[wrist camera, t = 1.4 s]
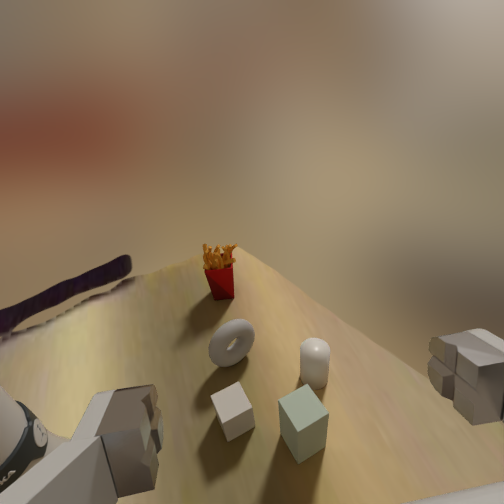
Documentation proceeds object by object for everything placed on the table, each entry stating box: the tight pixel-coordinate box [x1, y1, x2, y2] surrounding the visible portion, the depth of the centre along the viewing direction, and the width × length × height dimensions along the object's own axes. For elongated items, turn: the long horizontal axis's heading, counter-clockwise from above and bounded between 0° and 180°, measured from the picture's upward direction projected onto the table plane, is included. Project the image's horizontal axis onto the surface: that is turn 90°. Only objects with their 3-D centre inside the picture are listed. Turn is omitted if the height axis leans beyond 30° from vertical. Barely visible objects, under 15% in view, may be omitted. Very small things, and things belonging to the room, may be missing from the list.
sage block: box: [278, 384, 329, 464], centre depth 46 cm, size 5×5×10 cm
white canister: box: [300, 338, 330, 390], centre depth 55 cm, size 5×5×8 cm
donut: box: [209, 319, 255, 367], centre depth 60 cm, size 10×4×10 cm, turn 128°
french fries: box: [203, 244, 238, 300], centre depth 74 cm, size 9×8×15 cm
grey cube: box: [211, 381, 255, 442], centre depth 51 cm, size 5×5×6 cm
